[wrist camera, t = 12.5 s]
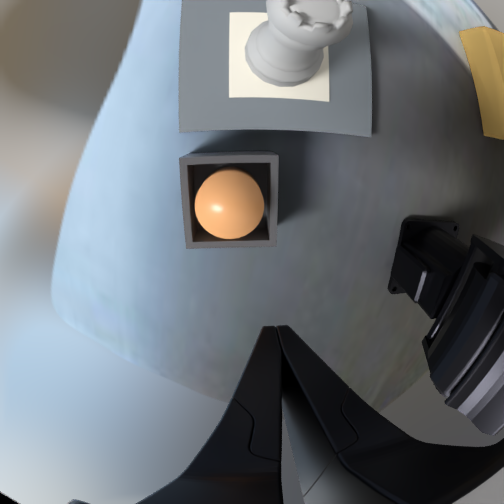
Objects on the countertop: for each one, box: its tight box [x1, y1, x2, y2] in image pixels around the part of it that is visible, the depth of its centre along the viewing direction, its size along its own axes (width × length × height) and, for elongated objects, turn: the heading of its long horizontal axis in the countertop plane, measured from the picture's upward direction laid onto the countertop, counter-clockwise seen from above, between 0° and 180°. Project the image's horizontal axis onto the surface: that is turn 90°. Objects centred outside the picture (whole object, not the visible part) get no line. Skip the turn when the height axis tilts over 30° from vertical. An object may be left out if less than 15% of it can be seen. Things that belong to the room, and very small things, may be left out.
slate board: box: [179, 0, 372, 137], centre depth 13 cm, size 12×10×1 cm
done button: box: [195, 167, 264, 239], centre depth 15 cm, size 4×4×2 cm
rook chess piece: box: [245, 0, 353, 87], centre depth 9 cm, size 4×4×8 cm
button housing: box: [179, 151, 279, 249], centre depth 16 cm, size 5×5×3 cm
